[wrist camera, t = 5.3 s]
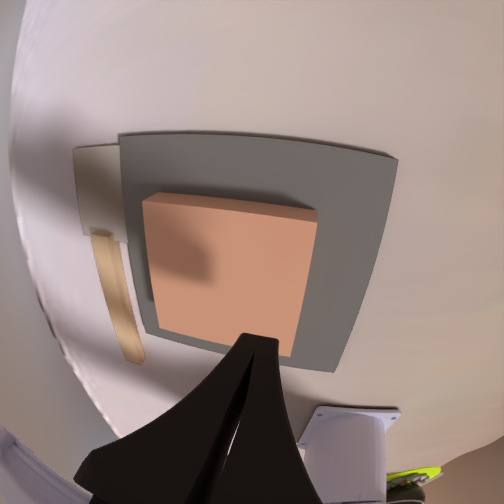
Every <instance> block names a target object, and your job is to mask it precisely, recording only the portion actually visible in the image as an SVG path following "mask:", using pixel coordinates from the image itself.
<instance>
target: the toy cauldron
mask: <svg viewBox="0 0 504 504" xmlns="http://www.w3.org/2000/svg"><path fill="white" fill-rule="evenodd" d="M440 471H441V468H440V467H425V468H419V469H413V470H409V471H404V472H400V473H396V474H392V475H388V476H386V503H387V504H424V503H425V492H424V491H423V489H422V488H421V487H420V486H418V485H419V484H420V483H425V482H427V481H428V480H429V479H431V478H432V477H434V476H436V475H437V474H438V473H439V472H440Z"/></svg>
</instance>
